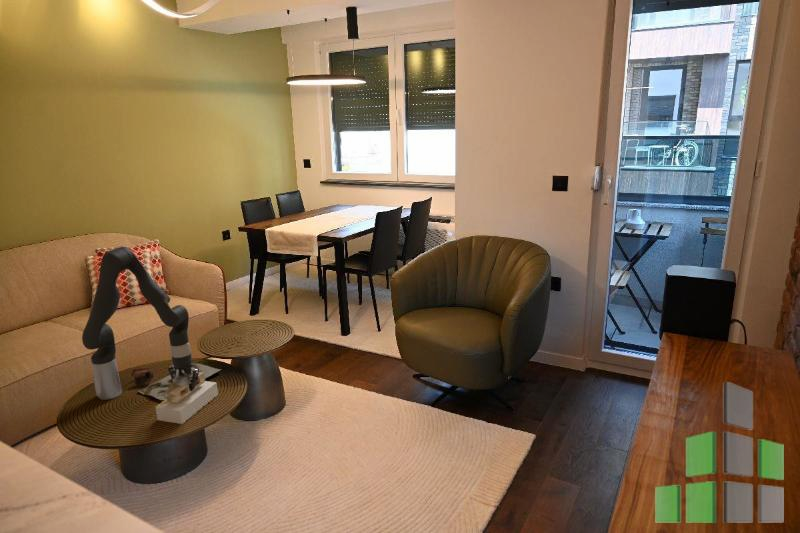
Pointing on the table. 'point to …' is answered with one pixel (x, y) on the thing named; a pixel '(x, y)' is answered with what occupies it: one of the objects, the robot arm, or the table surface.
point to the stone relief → (167, 380)
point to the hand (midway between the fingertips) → (186, 389)
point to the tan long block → (182, 390)
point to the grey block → (180, 381)
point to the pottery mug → (141, 376)
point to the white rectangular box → (187, 404)
